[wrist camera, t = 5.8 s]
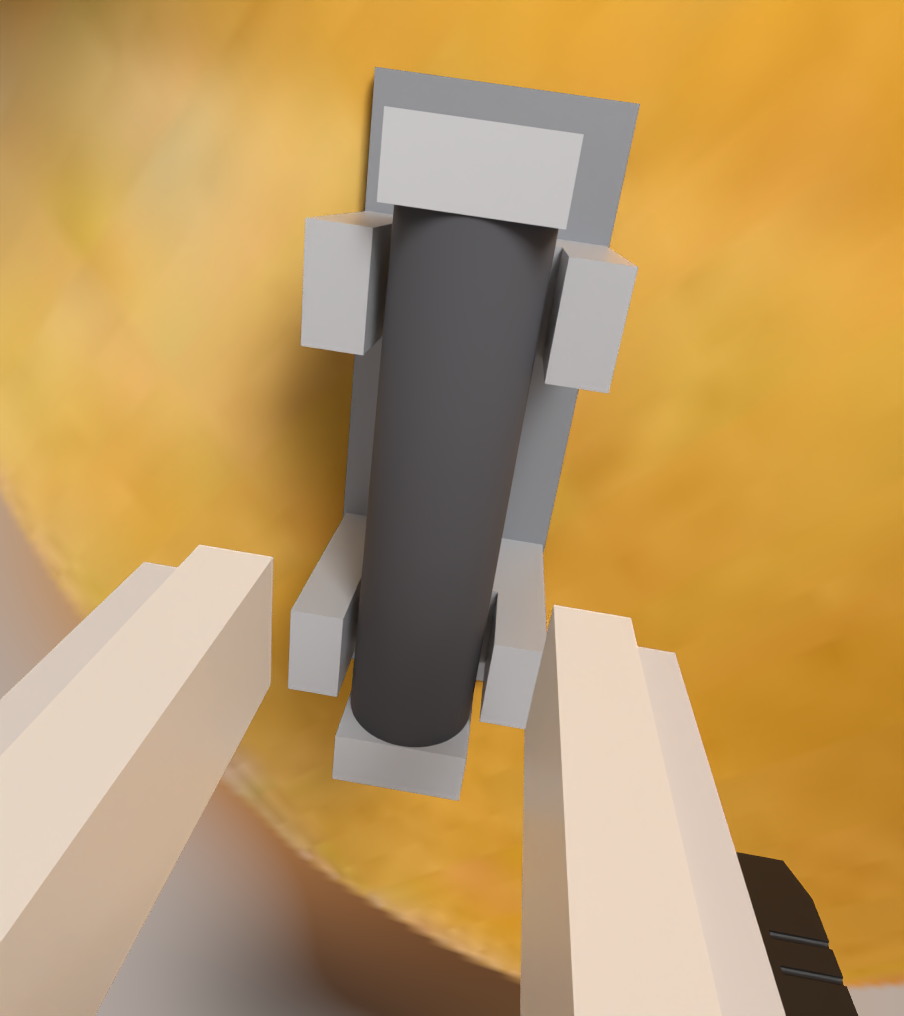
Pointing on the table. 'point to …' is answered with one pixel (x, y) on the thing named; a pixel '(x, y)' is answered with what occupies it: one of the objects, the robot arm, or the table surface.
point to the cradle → (552, 394)
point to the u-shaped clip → (212, 743)
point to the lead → (446, 428)
